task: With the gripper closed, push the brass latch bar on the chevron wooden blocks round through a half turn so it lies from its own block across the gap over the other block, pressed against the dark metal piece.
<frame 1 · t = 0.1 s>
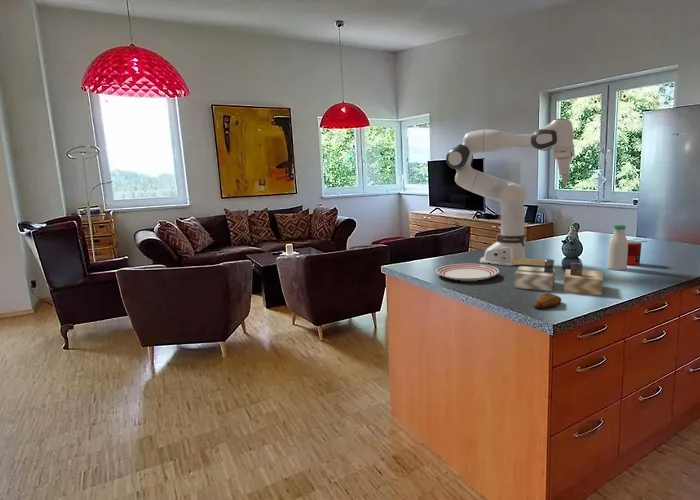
hand: (565, 184, 211), 39 cm above the table, tool pointing down, fingers open, 8 cm apart
dinner plate: (467, 277, 204), on the table
croissant: (547, 306, 159), on the table
chevron wooden blocks: (558, 286, 182), on the table
latch bar: (532, 261, 184), point 10 cm above the table, hinge at 0.0°
milk bottle: (616, 269, 208), on the table
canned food: (629, 264, 216), on the table
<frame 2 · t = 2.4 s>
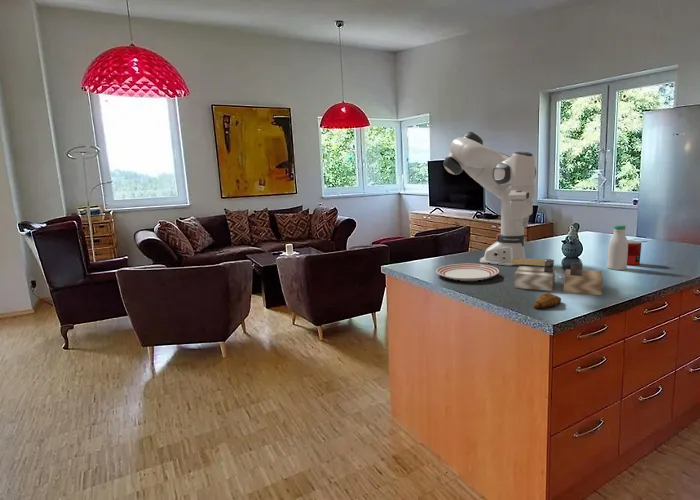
hand: (522, 228, 181), 24 cm above the table, tool pointing down, fingers open, 8 cm apart
nothing on the table moved.
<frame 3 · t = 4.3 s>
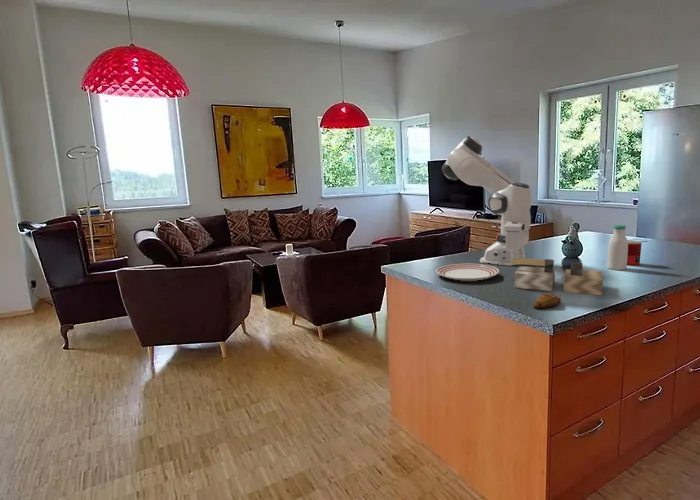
hand: (517, 258, 183), 12 cm above the table, tool pointing down, fingers closed
nothing on the table moved.
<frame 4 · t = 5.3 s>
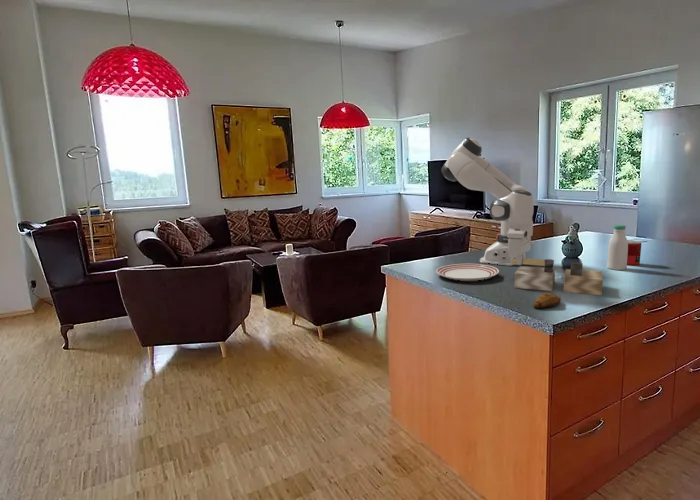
hand: (519, 264, 185), 9 cm above the table, tool pointing down, fingers closed
latch bar: (532, 261, 185), point 10 cm above the table, hinge at 3.0°, touching gripper
everything else where it was.
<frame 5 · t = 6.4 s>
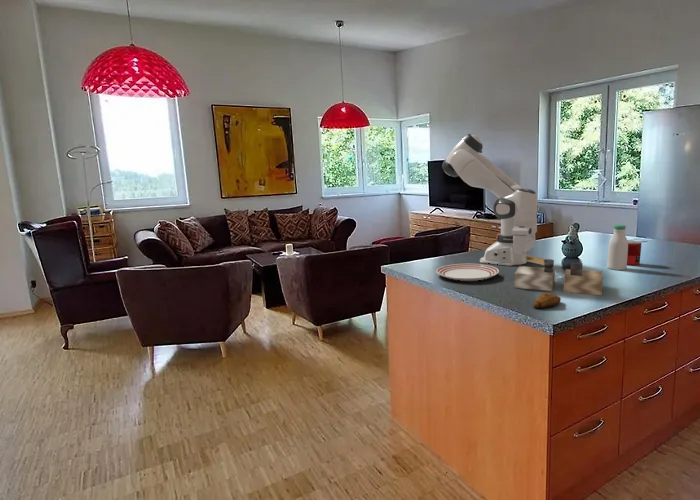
hand: (524, 260, 190), 9 cm above the table, tool pointing down, fingers closed
latch bar: (537, 260, 187), point 10 cm above the table, hinge at 40.4°, touching gripper
everything else where it was.
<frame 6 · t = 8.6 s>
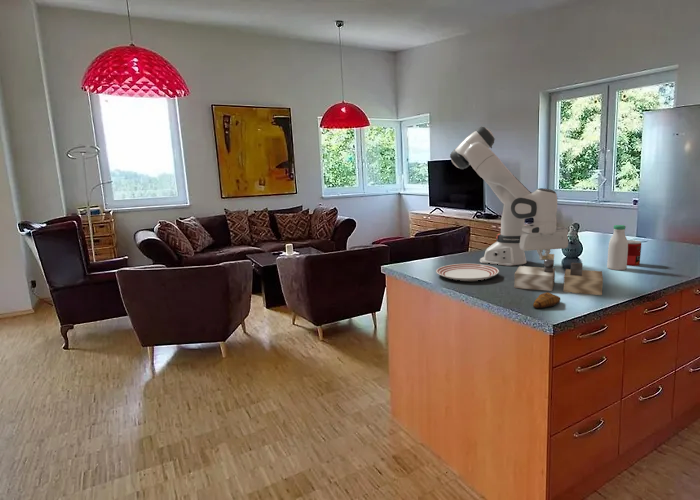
hand: (543, 259, 193), 9 cm above the table, tool pointing down, fingers closed
latch bar: (549, 259, 187), point 10 cm above the table, hinge at 89.6°, touching gripper
everything else where it was.
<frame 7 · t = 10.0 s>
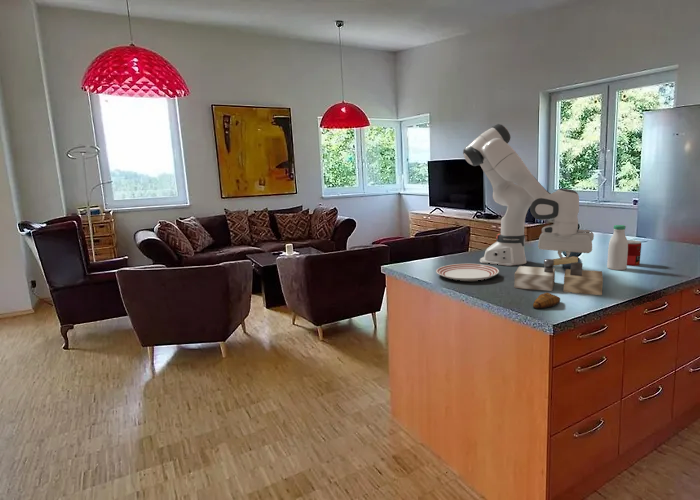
hand: (563, 261, 188), 8 cm above the table, tool pointing down, fingers closed
latch bar: (560, 261, 184), point 10 cm above the table, hinge at 132.0°, touching gripper
everything else where it was.
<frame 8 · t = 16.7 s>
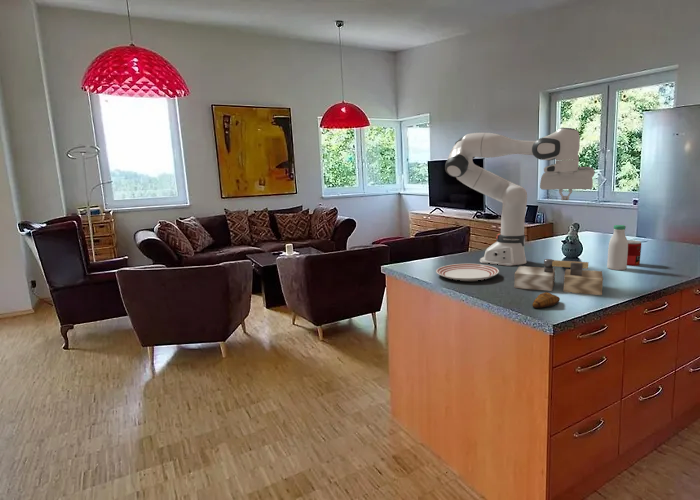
hand: (565, 200, 193), 33 cm above the table, tool pointing down, fingers closed
latch bar: (565, 264, 179), point 10 cm above the table, hinge at 181.4°, touching chevron wooden blocks
everything else where it was.
at the end: latch bar at +181° (first picture: +0°) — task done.
